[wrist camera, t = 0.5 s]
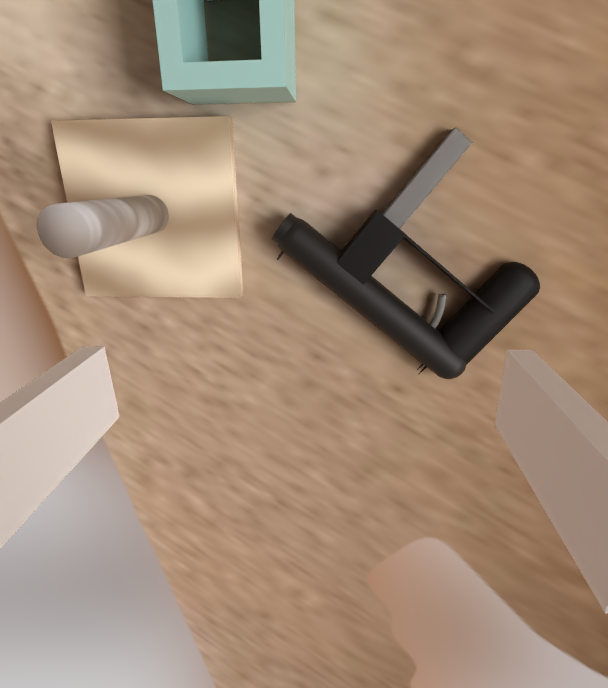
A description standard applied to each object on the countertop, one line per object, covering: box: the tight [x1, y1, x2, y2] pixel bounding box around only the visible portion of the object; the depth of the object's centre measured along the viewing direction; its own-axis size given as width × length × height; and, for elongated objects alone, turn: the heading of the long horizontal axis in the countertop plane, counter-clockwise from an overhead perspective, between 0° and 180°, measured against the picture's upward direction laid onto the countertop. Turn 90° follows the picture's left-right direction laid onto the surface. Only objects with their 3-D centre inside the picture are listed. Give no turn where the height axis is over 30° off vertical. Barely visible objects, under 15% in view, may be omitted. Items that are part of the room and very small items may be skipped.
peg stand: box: [37, 116, 243, 298], centre depth 31 cm, size 14×14×13 cm
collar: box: [153, 0, 296, 105], centre depth 29 cm, size 8×8×6 cm
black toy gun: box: [272, 127, 540, 379], centre depth 35 cm, size 3×20×16 cm
